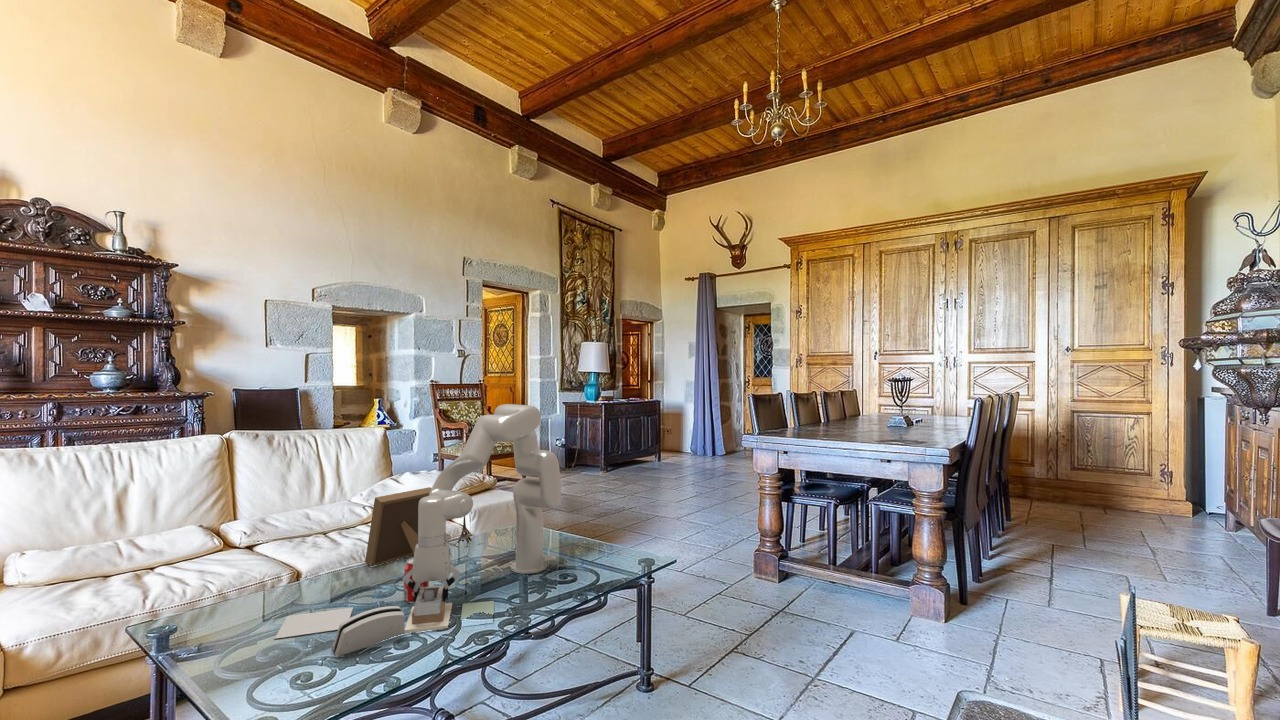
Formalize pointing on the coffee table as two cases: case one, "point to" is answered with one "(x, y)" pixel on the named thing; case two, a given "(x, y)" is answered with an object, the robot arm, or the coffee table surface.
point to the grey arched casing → (368, 629)
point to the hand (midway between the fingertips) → (431, 602)
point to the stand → (429, 617)
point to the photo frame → (394, 526)
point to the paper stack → (313, 622)
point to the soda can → (407, 590)
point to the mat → (477, 608)
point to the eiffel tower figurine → (463, 535)
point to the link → (431, 606)
